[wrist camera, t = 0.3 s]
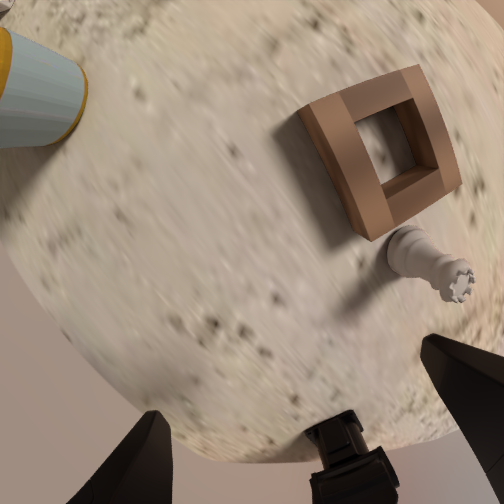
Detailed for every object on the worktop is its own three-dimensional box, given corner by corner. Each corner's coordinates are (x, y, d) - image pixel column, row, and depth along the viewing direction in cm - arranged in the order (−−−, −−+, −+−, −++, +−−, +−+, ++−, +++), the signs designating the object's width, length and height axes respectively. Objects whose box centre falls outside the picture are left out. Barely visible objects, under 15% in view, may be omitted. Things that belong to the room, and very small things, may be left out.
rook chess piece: (402, 280, 23) (455, 325, 16) (374, 253, 22) (431, 297, 14) (430, 243, 22) (490, 277, 15) (406, 212, 21) (471, 241, 14)
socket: (440, 178, 20) (462, 183, 17) (353, 230, 21) (370, 242, 18) (398, 71, 17) (418, 64, 14) (296, 110, 18) (308, 103, 15)
